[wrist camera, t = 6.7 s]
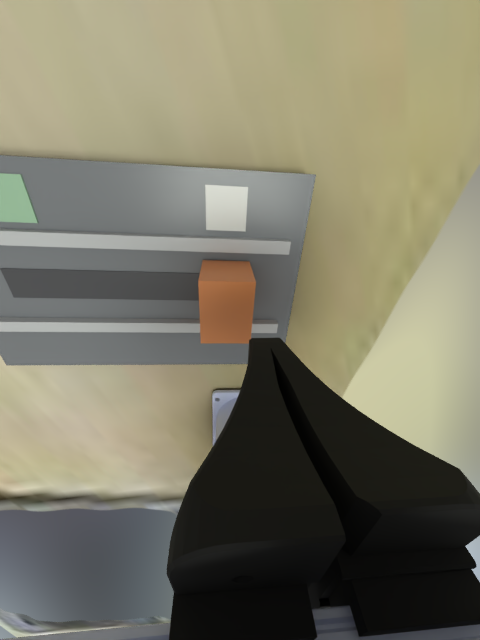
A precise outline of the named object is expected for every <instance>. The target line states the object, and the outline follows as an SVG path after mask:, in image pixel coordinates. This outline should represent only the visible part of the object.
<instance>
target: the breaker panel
mask: <svg viewBox="0 0 480 640" xmlns="http://www.w3.org/2000/svg"><path fill="white" fill-rule="evenodd" d="M315 177H316V175H314V174H298V173H281V172H265V171H249V170H233V169H216V168H200V167H184V166H167V165H151V164H135V163H118V162H102V161H86V160H70V159H53V158H37V157H21V156H4V155H0V355H1V357H2V358H3V360H4V362H5V363H6V365H154V364H248V350H249V344H242V343H201V337H200V312H199V287H198V280H199V275H200V270H201V266H202V261H203V260H221V261H249V262H250V265H251V268H252V271H253V274H254V277H255V280H256V288H255V299H254V310H253V321H252V332H251V338H281V339H282V341H283V342H284V343H285V341H286V336H287V330H288V325H289V319H290V314H291V308H292V303H293V297H294V292H295V286H296V281H297V276H298V270H299V265H300V259H301V254H302V248H303V243H304V237H305V232H306V226H307V221H308V215H309V210H310V204H311V199H312V193H313V188H314V183H315Z"/></svg>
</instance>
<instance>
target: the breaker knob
mask: <svg viewBox="0 0 480 640" xmlns="http://www.w3.org/2000/svg"><path fill="white" fill-rule="evenodd" d="M198 287H199V312H200V337H201V343H242V344H249V340H250V339H251V332H252V321H253V310H254V299H255V288H256V280H255V277H254V274H253V271H252V268H251V265H250V262H249V261H221V260H203V261H202V266H201V270H200V275H199V280H198Z"/></svg>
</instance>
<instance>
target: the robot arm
mask: <svg viewBox="0 0 480 640" xmlns="http://www.w3.org/2000/svg"><path fill="white" fill-rule="evenodd" d="M212 410H213V447H212V449H211V451H210V452H209V454H208V456H207V457H206V459H205V460H204V462H203V463H202V465H201V466H200V468H199V470H198V471H197V473H196V474H195V476H194V477H193V479H192V480H191V482H190V484H189V487H188V489H187V492H186V494H185V497H184V499H183V502H182V504H181V507H180V510H179V512H178V515H177V518H176V522H175V525H174V528H173V532H172V536H171V541H170V548H169V556H168V564H167V576H168V578H169V581H170V583H171V585H172V588H173V590H174V597H173V606H172V615H171V623H163V624H152V625H142V626H132V627H121V628H111V629H101V630H90V631H80V632H70V633H59V634H49V635H39V636H28V637H18V638H8V639H0V640H480V582H479V581H478V579H477V578H476V576H475V574H474V573H473V571H472V570H471V569H474V568H475V567H476V563H475V561H474V559H473V557H472V556H471V554H470V553H469V552H468V550H467V548H466V547H465V546H466V545H467V544H469V543H470V542H471V541H473V540H474V539H475V538H477V537H478V536H479V535H480V493H479V492H478V491H477V490H476V489H475V487H474V486H473V485H472V484H471V482H470V481H469V480H468V479H467V477H466V476H465V475H464V474H463V473H462V472H461V470H460V469H458V468H456V467H455V466H453V465H451V464H449V463H447V462H445V461H443V460H441V459H439V458H437V457H435V456H434V455H432V454H430V453H428V452H426V451H424V450H422V449H420V448H418V447H416V446H414V445H413V444H411V443H409V442H407V441H406V440H404V439H402V438H401V437H399V436H397V435H396V434H394V433H392V432H391V431H389V430H387V429H386V428H384V427H383V426H381V425H379V424H378V423H376V422H375V421H373V420H372V419H370V418H369V417H367V416H366V415H364V414H363V413H361V412H360V411H358V410H357V409H356V408H354V407H353V406H351V405H350V404H349V403H347V402H346V401H345V400H343V399H342V398H341V397H340V396H339V395H337V394H336V393H335V392H333V391H332V390H331V389H330V388H329V387H327V386H326V385H325V384H324V383H323V382H322V381H321V380H320V379H319V378H318V377H316V376H315V375H314V374H313V373H312V372H311V371H310V370H309V369H308V368H307V367H306V366H305V365H304V364H303V363H302V362H301V361H300V359H299V358H298V357H297V356H296V355H295V354H294V353H293V352H292V351H291V350H290V348H289V347H288V346H287V345H286V344H285V343H284V342H283V341H282V339H281V338H251V339H250V340H249V350H248V366H247V370H246V374H245V377H244V380H243V384H242V387H241V390H215V391H214V392H213V393H212Z"/></svg>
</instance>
